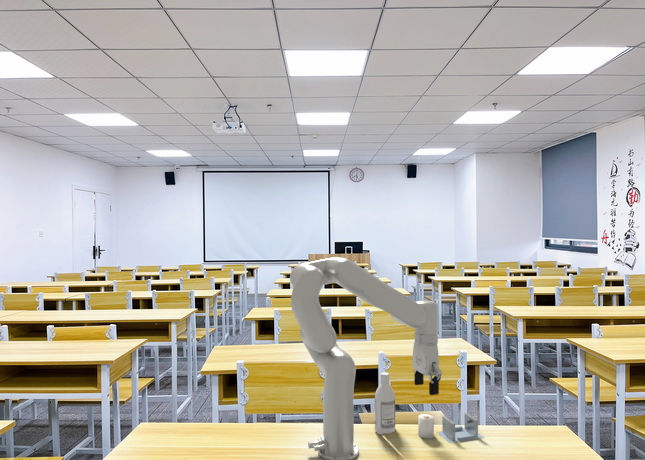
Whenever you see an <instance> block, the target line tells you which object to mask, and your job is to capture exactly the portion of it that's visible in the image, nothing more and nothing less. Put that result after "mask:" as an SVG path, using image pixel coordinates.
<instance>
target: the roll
mask: <svg viewBox="0 0 645 460" xmlns="http://www.w3.org/2000/svg"><path fill="white" fill-rule="evenodd" d="M417 418H418V425H417V426H418V427H417V428H418V429H417V430H418V432H417V433H418V437H420V438H422V439H424V440H430V439H433V438H434V437H435V418H434V416H433V415H431V414H428V413H427V414H426V413H421V414H419V415H418V417H417Z"/></svg>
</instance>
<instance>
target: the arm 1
mask: <svg viewBox="0 0 645 460" xmlns="http://www.w3.org/2000/svg"><path fill="white" fill-rule="evenodd" d="M441 427H442V431H443V434H445V435H446V436H447V437H448V438H450V439H451V440H452V441H455V427H456V422H454V421H452V420H451V419H450V418H448V417H447V416H446V415H444V416H442V425H441Z"/></svg>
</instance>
